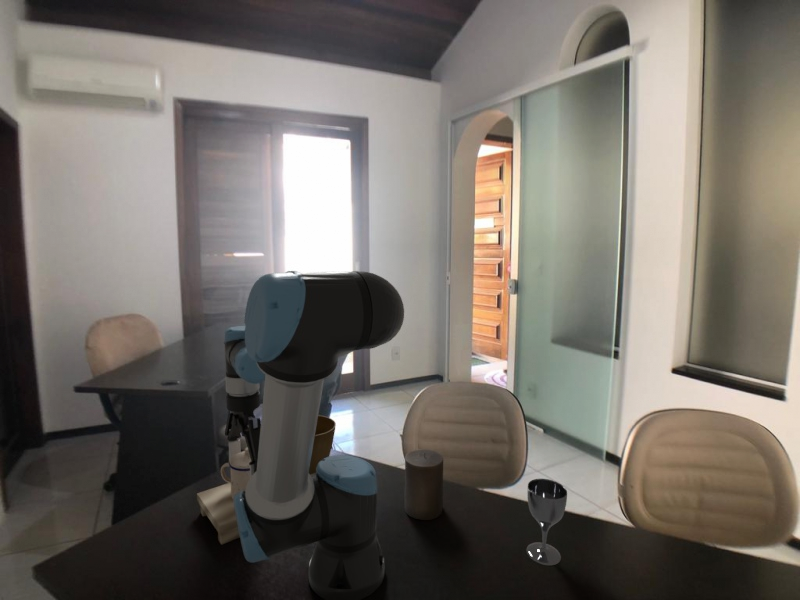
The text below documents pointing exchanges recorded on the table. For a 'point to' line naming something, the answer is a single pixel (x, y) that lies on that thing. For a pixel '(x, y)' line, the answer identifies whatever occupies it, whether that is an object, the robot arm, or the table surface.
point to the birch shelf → (220, 511)
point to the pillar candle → (423, 484)
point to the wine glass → (545, 516)
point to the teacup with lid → (238, 472)
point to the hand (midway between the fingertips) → (245, 476)
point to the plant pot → (322, 441)
